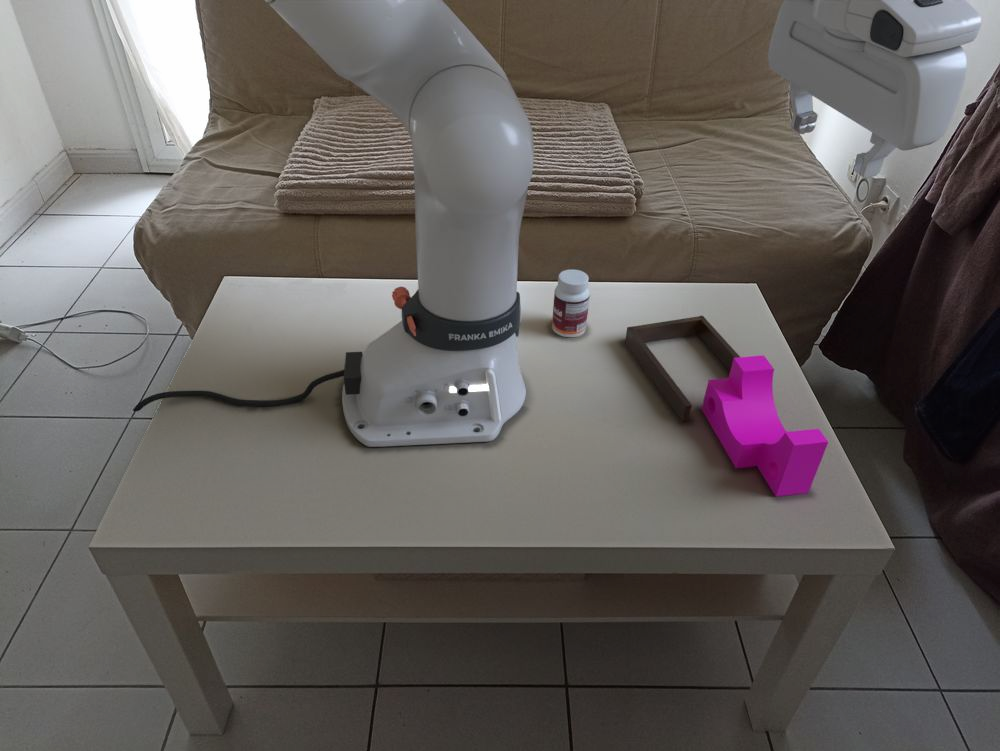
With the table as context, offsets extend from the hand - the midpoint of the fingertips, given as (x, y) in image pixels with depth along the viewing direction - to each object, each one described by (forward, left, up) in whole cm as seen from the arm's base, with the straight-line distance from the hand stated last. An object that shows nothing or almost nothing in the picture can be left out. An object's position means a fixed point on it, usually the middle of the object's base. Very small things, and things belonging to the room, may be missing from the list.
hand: (832, 151), depth 71 cm
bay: (-4, +9, -33) cm, 34 cm away
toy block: (-4, -5, -33) cm, 34 cm away
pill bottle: (-16, +23, -33) cm, 43 cm away
